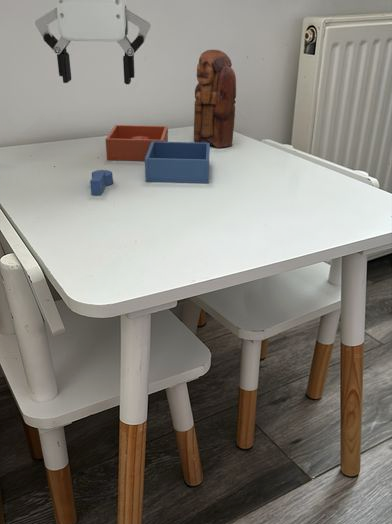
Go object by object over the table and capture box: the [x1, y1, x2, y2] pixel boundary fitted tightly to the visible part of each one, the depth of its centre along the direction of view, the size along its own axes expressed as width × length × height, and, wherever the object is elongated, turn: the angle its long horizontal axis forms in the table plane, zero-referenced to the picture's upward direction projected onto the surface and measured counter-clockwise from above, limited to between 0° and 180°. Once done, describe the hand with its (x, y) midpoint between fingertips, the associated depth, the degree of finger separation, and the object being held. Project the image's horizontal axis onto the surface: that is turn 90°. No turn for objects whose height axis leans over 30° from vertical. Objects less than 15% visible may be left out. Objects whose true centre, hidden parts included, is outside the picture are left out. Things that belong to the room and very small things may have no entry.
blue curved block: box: [89, 169, 114, 196], centre depth 95 cm, size 8×4×2 cm, turn 178°
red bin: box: [105, 124, 169, 162], centre depth 114 cm, size 11×12×4 cm
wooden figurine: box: [193, 49, 237, 149], centre depth 118 cm, size 12×6×18 cm, turn 38°
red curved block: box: [131, 136, 149, 139], centre depth 114 cm, size 8×4×2 cm, turn 178°
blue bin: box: [144, 141, 211, 184], centre depth 103 cm, size 11×12×4 cm
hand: (97, 82), depth 89 cm, fingers open, 9 cm apart
